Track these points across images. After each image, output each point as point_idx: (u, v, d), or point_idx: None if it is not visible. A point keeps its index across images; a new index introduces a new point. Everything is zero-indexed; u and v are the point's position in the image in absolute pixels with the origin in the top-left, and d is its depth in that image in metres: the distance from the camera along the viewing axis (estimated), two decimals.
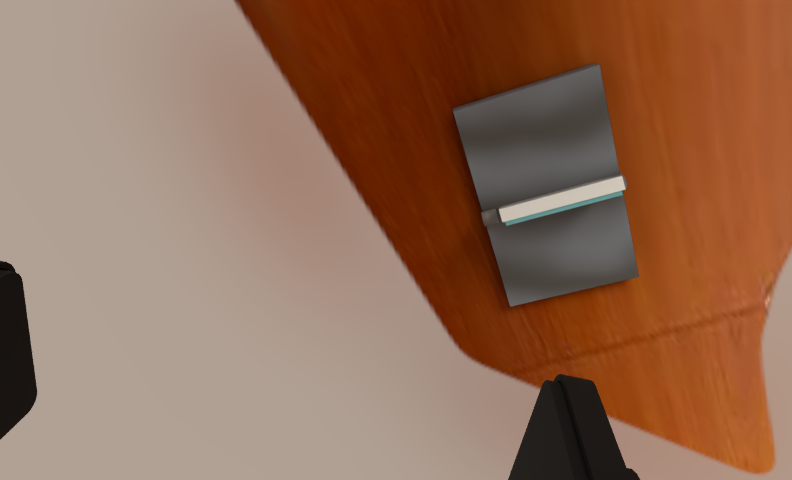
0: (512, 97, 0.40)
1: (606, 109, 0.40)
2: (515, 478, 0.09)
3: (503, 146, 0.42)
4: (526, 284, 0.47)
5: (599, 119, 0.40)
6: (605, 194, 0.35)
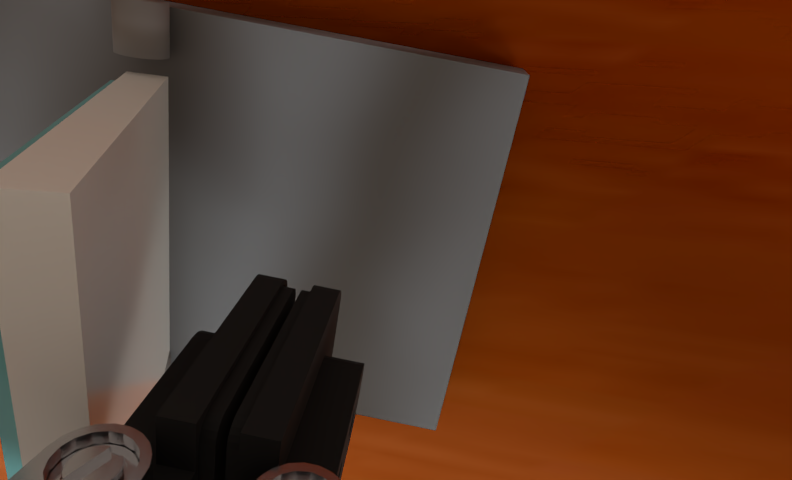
0: (471, 246, 0.14)
1: None
2: None
3: (352, 165, 0.14)
4: None
5: None
6: None
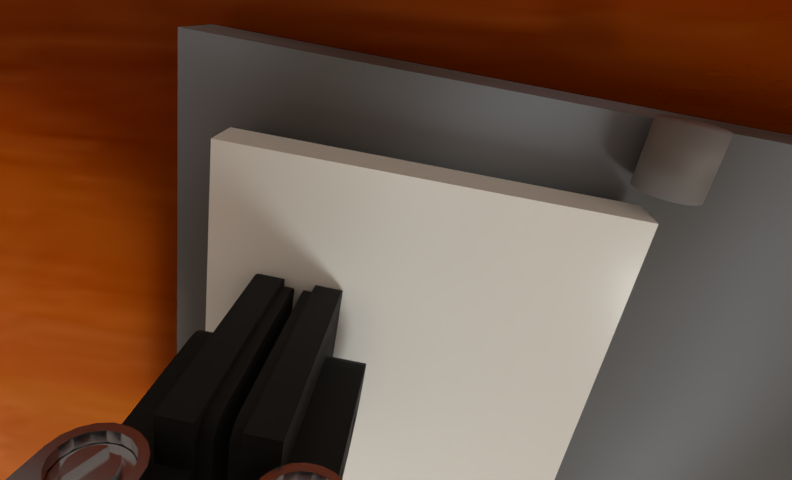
0: None
1: None
2: None
3: None
4: None
5: None
6: None
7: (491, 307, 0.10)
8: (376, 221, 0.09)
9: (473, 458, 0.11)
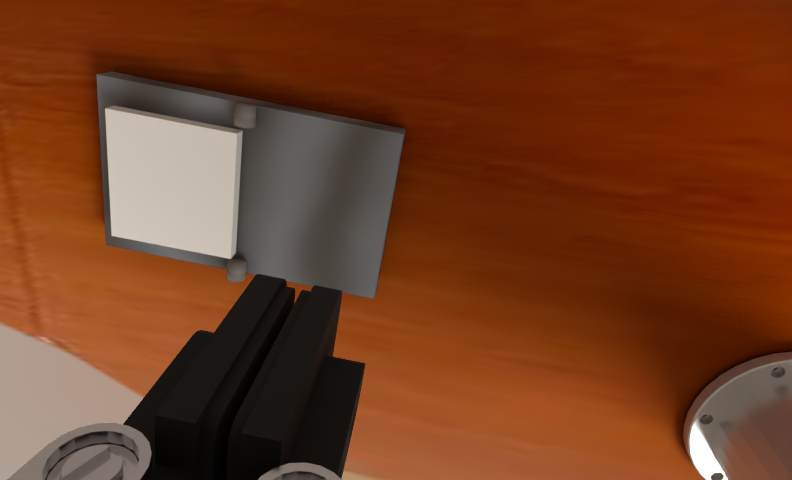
0: (384, 206, 0.32)
1: None
2: None
3: (332, 170, 0.32)
4: None
5: (317, 277, 0.35)
6: None
7: (196, 162, 0.31)
8: (156, 134, 0.31)
9: (203, 221, 0.33)
